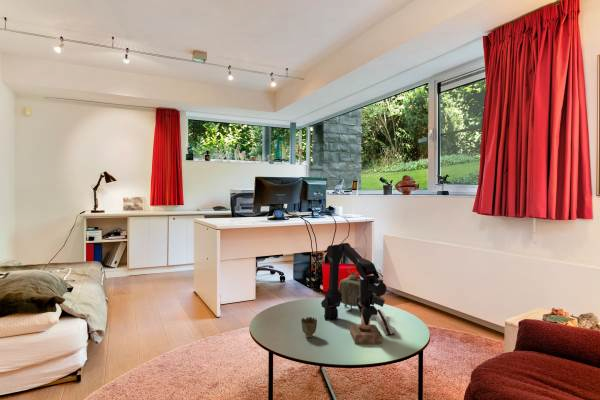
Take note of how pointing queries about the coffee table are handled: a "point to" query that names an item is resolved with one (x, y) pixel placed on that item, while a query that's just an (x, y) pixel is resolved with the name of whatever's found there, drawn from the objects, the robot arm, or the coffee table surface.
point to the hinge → (384, 322)
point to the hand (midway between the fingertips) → (365, 323)
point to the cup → (309, 326)
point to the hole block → (365, 335)
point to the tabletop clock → (350, 289)
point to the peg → (364, 323)
